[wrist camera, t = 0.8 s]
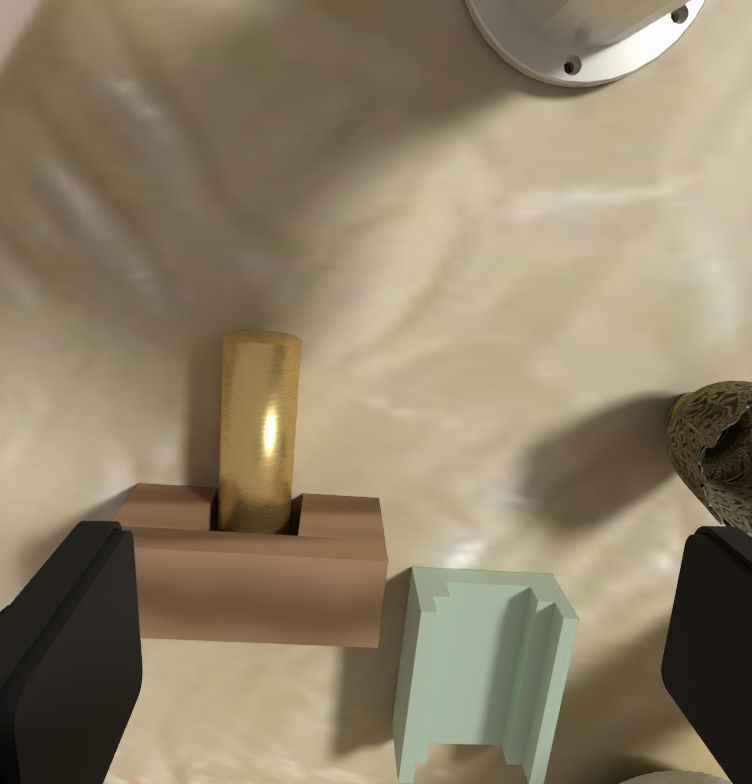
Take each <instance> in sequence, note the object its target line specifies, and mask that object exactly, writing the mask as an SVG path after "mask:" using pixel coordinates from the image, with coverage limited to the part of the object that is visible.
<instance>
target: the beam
mask: <svg viewBox="0 0 752 784" xmlns="http://www.w3.org/2000/svg"><path fill="white" fill-rule="evenodd" d="M111 521H118V522H119V523H120V524H121V527H122V530H130V531H131V532H132V534H133V539H134V552H135V567H136V582H137V596H138V611H139V626H140V638H156V639H180V640H204V641H227V642H251V643H275V644H299V645H322V646H346V647H370V648H378V644H379V635H380V627H381V618H382V609H383V600H384V592H385V583H386V574H387V565H388V558H387V551H386V544H385V537H384V530H383V523H382V516H381V509H380V502H379V498H368V497H351V496H335V495H319V494H303V500H302V508H301V516H300V524H299V533H298V536H292V535H275V534H257V533H239V532H222V531H216V521H217V488H207V487H191V486H174V485H158V484H142V483H138V485H137V486H136V487H135V489H134V490H133V491H132V493H131V494H130V496H129V497H128V498H127V500H126V501H125V502H124V504H123V505H122V507H121V508H120V509H119V511H118V512H117V513H116V515H115V516H114V517H113V519H112V520H111Z"/></svg>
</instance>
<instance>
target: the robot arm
mask: <svg viewBox="0 0 752 784" xmlns="http://www.w3.org/2000/svg"><path fill="white" fill-rule="evenodd" d="M705 1H706V0H465V3H466V5H467V8H468V10H469V13H470V15H471V17H472V20H473V22H474V23H475V25H476V26H477V28H478V30H479V31H480V33H481V34H482V36H483V37H484V39H485V40H486V42H487V43H488V44H489V45H490V46H491V47H492V48H493V50H494V51H495V52H496V53H497V54H498V55H499V56H500V57H501V58H502V59H503V60H504V61H505V62H507V63H508V64H510V65H511V66H513V67H514V68H516V69H517V70H518V71H520V72H521V73H523V74H524V75H527V76H529V77H531V78H534V79H536V80H539V81H541V82H544V83H546V84H552V85H557V86H563V87H569V88H570V87H593V86H597V85H601V84H605V83H609V82H613V81H616V80H618V79H621V78H623V77H625V76H628V75H630V74H632V73H635V72H636V71H638V70H640V69H641V68H643V67H645V66H646V65H648V64H650V63H651V62H653V61H655V60H656V59H658V58H659V57H660V56H661V55H662V54H663V53H665V52H666V51H667V50H668V49H669V48H670V47H671V46H673V45H674V44H675V43H676V42H677V41H678V40H679V39H680V37H681V36H682V35H683V34H684V33H685V32H686V30H687V29H688V28H689V27H690V26H691V24H692V23H693V22H694V20H695V18H696V17H697V15H698V13H699V12H700V10H701V8H702V6H703V5H704V3H705ZM671 14H672V15H673V16H674V22H673V21H672V19H671ZM564 64H568V65H569V66H570V67H571V71H570V74H567V73H566V72H565V70H564ZM661 673H662V679H663V682H664V685H665V687H666V689H667V691H668V692H669V694H670V695H671V697H672V698H673V699H674V701H675V702H676V704H677V705H678V707H679V708H680V709H681V711H682V712H683V714H684V715H685V717H686V718H687V719H688V721H689V722H690V724H691V725H692V726H693V728H694V729H695V731H696V732H697V734H698V735H699V736H700V738H701V739H702V741H703V742H704V743H705V745H706V746H707V748H708V749H709V751H710V752H711V753H712V755H713V756H714V758H715V759H716V761H717V762H718V763H719V765H720V766H721V768H722V769H723V770H724V772H725V773H726V775H727V776H728V778H729V779H730V780H731V782H732V783H733V784H752V537H751V536H749V535H748V534H747V533H745V532H744V531H743V530H741V529H740V528H738V527H731V526H702V527H700V528H698V529H697V531H696V532H695V534H694V535H690V536H689V537H688V538H687V540H686V543H685V547H684V552H683V558H682V563H681V568H680V573H679V578H678V583H677V588H676V593H675V599H674V604H673V609H672V614H671V619H670V624H669V629H668V635H667V640H666V645H665V650H664V655H663V660H662V666H661ZM141 684H142V655H141V640H140V626H139V611H138V596H137V582H136V567H135V552H134V539H133V534H132V532H131V531H130V530H122V527H121V524H120V523H119V522H118V521H81V522H79V523H78V524H77V525H76V527H75V528H74V529H73V530H72V531H71V533H70V534H69V535H68V536H67V537H66V538H65V540H64V541H63V542H62V543H61V544H60V546H59V547H58V548H57V549H56V550H55V552H54V553H53V554H52V555H51V556H50V558H49V559H48V560H47V561H46V562H45V564H44V565H43V566H42V567H41V568H40V570H39V571H38V572H37V573H36V574H35V576H34V577H33V578H32V579H31V580H30V582H29V583H28V584H27V585H26V586H25V587H24V589H23V590H22V591H21V592H20V593H19V595H18V596H17V597H16V598H15V599H14V601H13V602H12V603H11V604H10V605H8V606H6V607H5V608H4V609H3V610H2V611H1V612H0V784H103V782H104V779H105V777H106V774H107V772H108V770H109V767H110V765H111V762H112V760H113V757H114V755H115V752H116V750H117V748H118V745H119V743H120V740H121V738H122V735H123V733H124V730H125V728H126V726H127V723H128V721H129V718H130V716H131V713H132V711H133V708H134V706H135V704H136V701H137V699H138V696H139V693H140V689H141Z"/></svg>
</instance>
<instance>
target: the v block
mask: <svg viewBox="0 0 752 784" xmlns="http://www.w3.org/2000/svg"><path fill="white" fill-rule="evenodd" d="M578 622H579V618H578V616H577V614H576V613H575V611H574V609H573V608H572V606H571V604H570V603H569V601H568V599H567V598H566V596H565V594H564V592H563V591H562V589H561V587H560V586H559V584H558V582H557V581H556V579H555V577H554V576H553V574H538V573H519V572H500V571H482V570H463V569H444V568H425V567H412V570H411V578H410V586H409V594H408V602H407V610H406V618H405V625H404V633H403V641H402V649H401V657H400V665H399V673H398V681H397V689H396V697H395V704H394V712H393V720H392V728H393V738H394V747H395V757H396V766H397V776H398V783H413V780H414V773H415V766H416V762H424V763H426V759H427V752H428V745H429V743H439V744H472V745H501V748H502V751H503V754H504V758H505V761H506V764H507V765H522V767H523V770H524V773H525V776H526V779H527V782H528V784H544V780H545V775H546V771H547V766H548V761H549V757H550V752H551V748H552V743H553V738H554V734H555V729H556V724H557V720H558V715H559V710H560V706H561V701H562V696H563V692H564V687H565V683H566V678H567V673H568V669H569V664H570V659H571V655H572V650H573V645H574V641H575V636H576V631H577V627H578Z"/></svg>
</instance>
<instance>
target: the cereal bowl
mask: <svg viewBox="0 0 752 784" xmlns="http://www.w3.org/2000/svg"><path fill="white" fill-rule="evenodd" d="M618 784H733V783H732V782H731V781H728V780H726V779H724V778H721V777H717V776H714V775H712V774H705V773H702V772H693V771H681V770H679V771H678V770H675V771H662V772H653V773H650V774H645V775H641V776H637V777H635V778H631V779H629V780H627V781H623V782H622V783H618Z"/></svg>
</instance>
